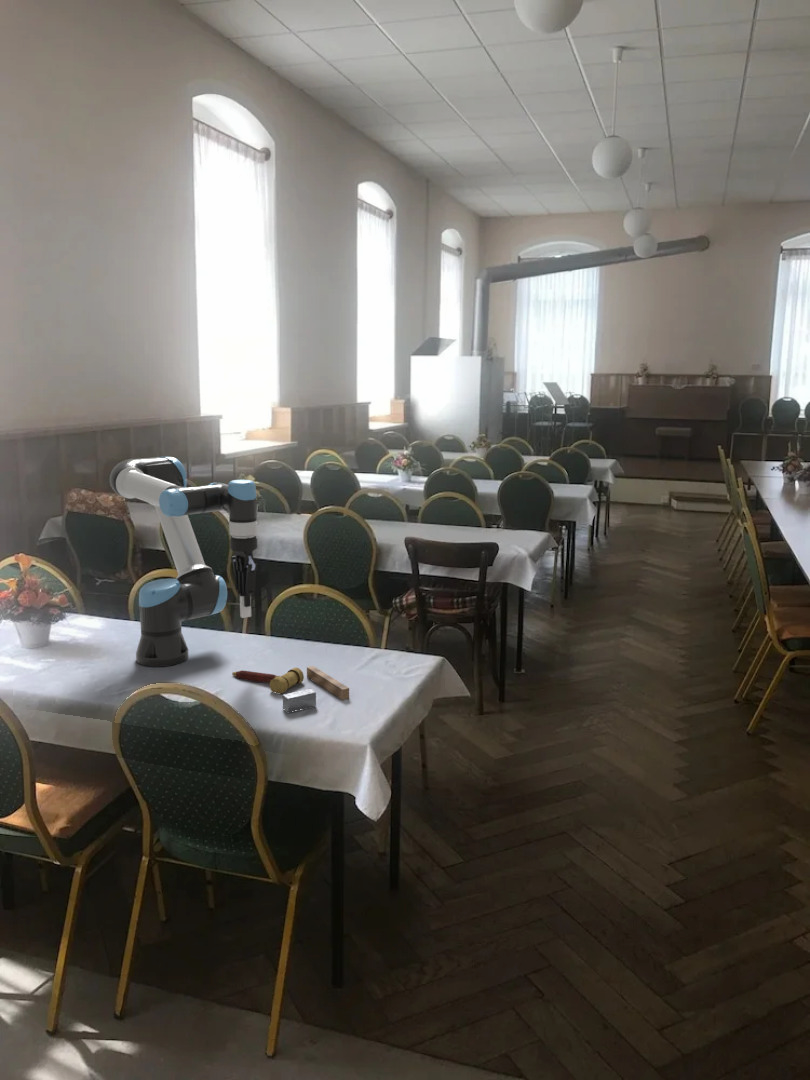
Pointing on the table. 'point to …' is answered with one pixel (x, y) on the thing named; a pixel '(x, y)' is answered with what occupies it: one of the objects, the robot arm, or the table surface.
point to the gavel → (273, 679)
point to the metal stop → (299, 700)
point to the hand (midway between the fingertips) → (245, 616)
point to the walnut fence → (328, 683)
